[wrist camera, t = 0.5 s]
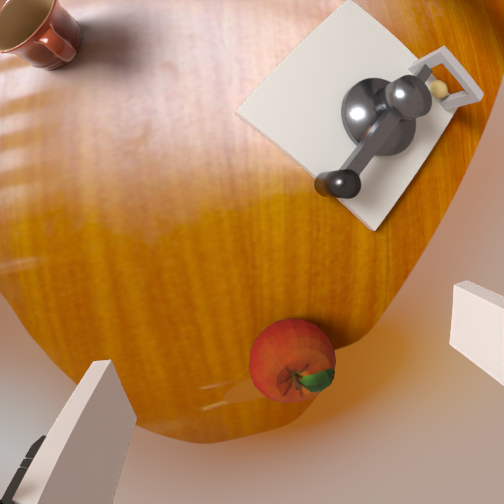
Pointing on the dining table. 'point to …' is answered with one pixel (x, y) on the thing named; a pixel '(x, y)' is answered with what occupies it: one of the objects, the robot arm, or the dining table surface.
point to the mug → (39, 32)
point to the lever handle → (376, 126)
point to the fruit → (292, 361)
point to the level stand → (330, 101)
